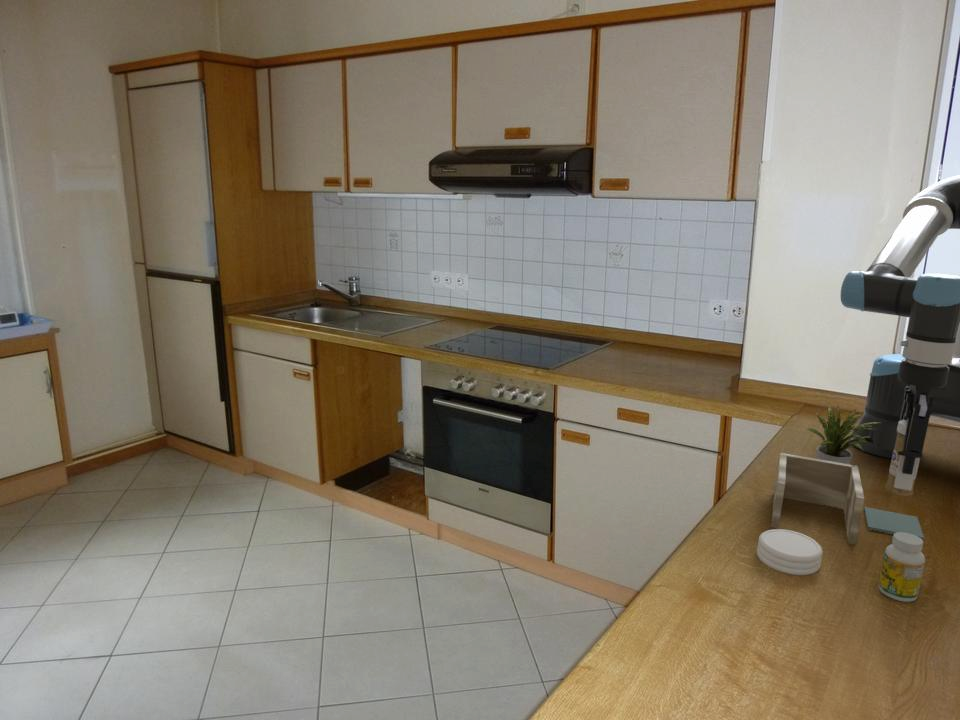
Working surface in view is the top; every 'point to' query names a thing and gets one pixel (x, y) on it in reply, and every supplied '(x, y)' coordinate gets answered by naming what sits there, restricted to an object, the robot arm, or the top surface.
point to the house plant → (838, 437)
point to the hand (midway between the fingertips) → (900, 482)
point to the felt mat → (892, 522)
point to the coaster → (789, 552)
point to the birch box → (820, 488)
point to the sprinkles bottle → (895, 460)
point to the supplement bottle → (902, 567)
